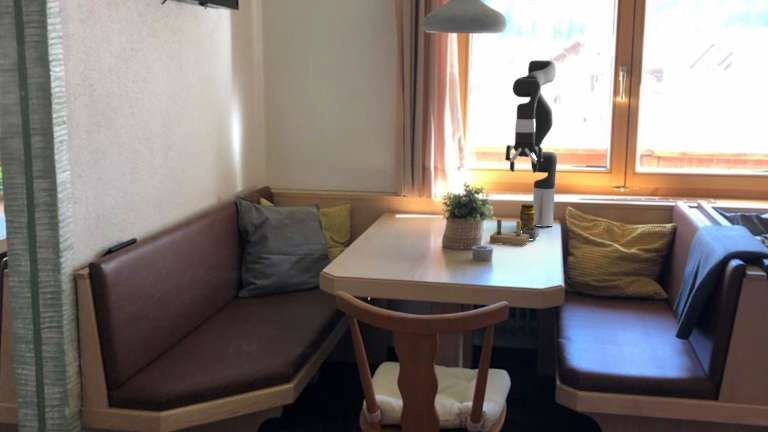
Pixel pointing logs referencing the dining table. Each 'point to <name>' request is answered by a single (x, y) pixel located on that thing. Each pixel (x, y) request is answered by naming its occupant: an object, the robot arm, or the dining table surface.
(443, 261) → the dining table surface
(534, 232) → the link
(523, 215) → the condiment
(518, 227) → the keeper
